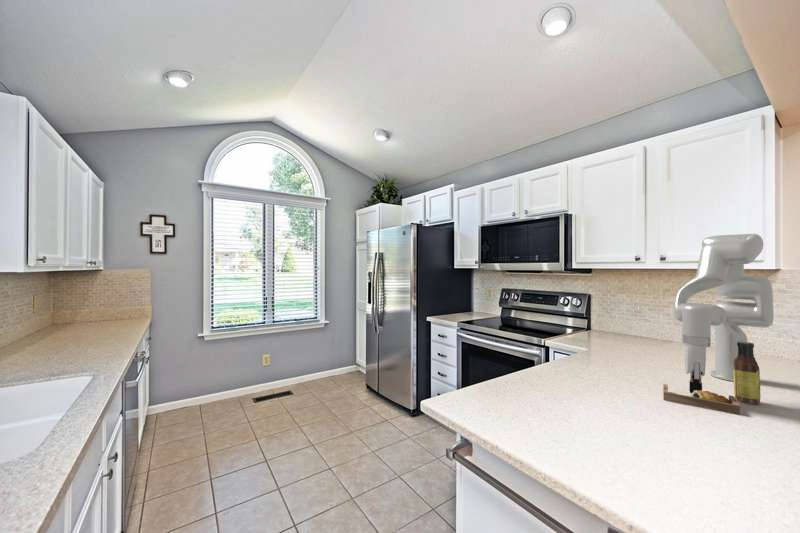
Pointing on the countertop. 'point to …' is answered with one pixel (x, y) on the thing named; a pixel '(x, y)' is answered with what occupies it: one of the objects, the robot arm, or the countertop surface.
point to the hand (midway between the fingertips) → (695, 393)
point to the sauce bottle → (746, 375)
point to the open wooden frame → (702, 402)
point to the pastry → (709, 396)
